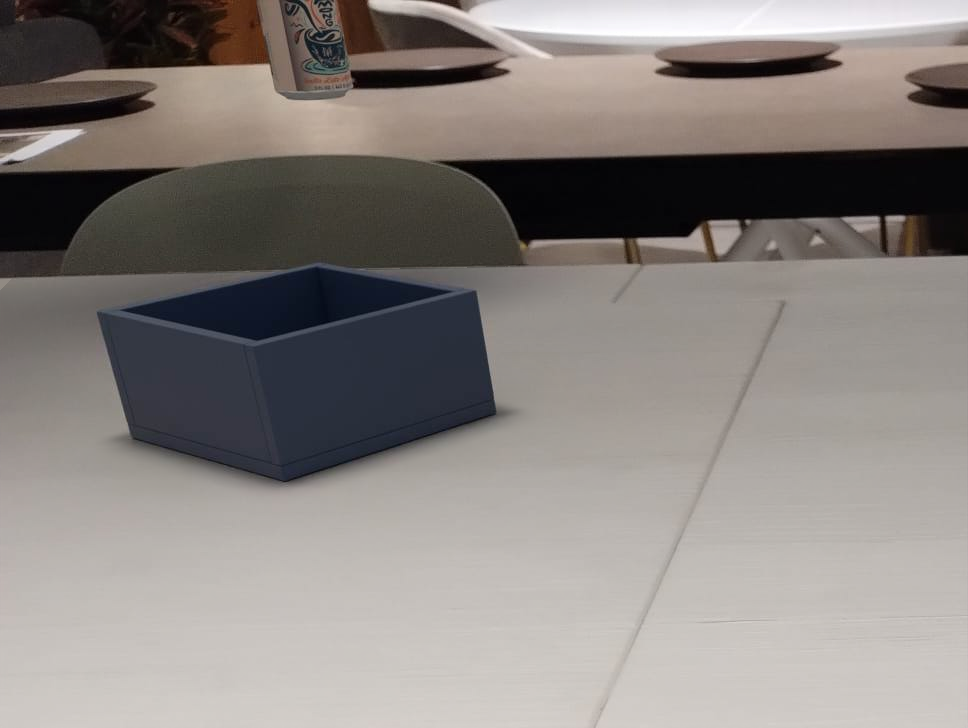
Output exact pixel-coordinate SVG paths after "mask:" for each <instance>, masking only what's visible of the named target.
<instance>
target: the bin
mask: <svg viewBox="0 0 968 728" xmlns="http://www.w3.org/2000/svg"><path fill="white" fill-rule="evenodd" d="M477 292H478V291H477V290H476V289H471V288H465V287H458V286H452V285H447V284H441V283H438V282H437V283H436V282H431V281H426V280H424V281H423V280H419V279H415V278H414V279H413V278H408V277H402V276H397V275H393V274H386V273H381V272H374V271H369V270H363V269H358V268H354V267H353V268H352V267H346V266H340V265H335V264H330V263H324V262H315V263H311V264H307V265H301V266H296V267H293V268H292V267H291V268H288V269H283V270H278V271H274V272H269V273H265V274H260V275H255V276H251V277H245V278H242V279H237V280H233V281H229V282H224V283H219V284H214V285H209V286H204V287H201V288H196V289H191V290H187V291H182V292H177V293H173V294H170V295H163V296H159V297H155V298H150V299H146V300H142V301H137V302H132V303H127V304H123V305H119V306H113V307H109V308H105V309H100V310H97V311H96V316H97V319H98V323H99V326H100V330H101V333H102V334H101V335H102V337H103V341H104V344H105V348H106V351H107V355H108V359H109V362H110V367H111V370H112V374H113V377H114V382H115V384H116V389H117V391H118V395H119V399H120V402H121V406H122V409H123V413H124V416H125V420H126V423H127V426H128V427H127V428H128V430H129V434H130V438H133V439H136V440H139V441H144V442H147V443H150V444H154V445H157V446H160V447H165V448H167V449H171V450H175V451H178V452H181V453H185V454H188V455H193V456H196V457H199V458H202V459H206V460H209V461H213V462H217V463H220V464H224V465H227V466H231V467H234V468H238V469H241V470H245V471H249V472H251V473H255V474H259V475H263V476H266V477H269V478H273V479H275V480H279V481H283V482H286V481H290V480H293V479H296V478H299V477H302V476H305V475H308V474H311V473H315V472H317V471H321V470H324V469H327V468H330V467H333V466H336V465H340V464H343V463H346V462H348V461H349V462H350V461H351V460H354V459H355V460H356V459H358V458H361V457H364V456H368V455H370V454H374V453H377V452H380V451H383V450H386V449H389V448H392V447H395V446H399V445H401V444H404V443H407V442H410V441H413V440H417V439H420V438H423V437H426V436H429V435H433V434H435V433H438V432H439V433H440V432H442V431H444V430H445V431H446V430H447V429H451V428H454V427H457V426H460V425H463V424H466V423H470V422H473V421H475V420H476V421H477V420H478V419H481V418H485V417H488V416H491V415H494V414H497V408H496V401H495V394H494V393H495V392H494V387H493V382H492V376H491V369H490V364H489V358H488V351H487V347H486V341H485V334H484V328H483V322H482V321H483V320H482V315H481V310H480V304H479V298H478V293H477Z"/></svg>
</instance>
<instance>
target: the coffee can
mask: <svg viewBox="0 0 968 728" xmlns="http://www.w3.org/2000/svg"><path fill="white" fill-rule="evenodd" d="M338 1H339V0H256V5H257V10H258V14H259V15H258V16H259V20H260V25H261V30H262V35H263V40H264V44H265V48H266V53H267V58H268V64H269V68H270V74H271V79H272V84H273V89H274V91H275V93H277V94H278V95H280V96H283V97H284V98H286V100H290V101H291V100H292V101H326V100H335V99H341V98H343V97H346V94H347V93H348V92H349V91H350V90H352V89H354V84H353V79H352V73H351V68H350V62H349V57H348V52H347V45H346V41H345V35H344V28H343V23H342V17H341V12H340V8H339V7H340V6H339V2H338Z"/></svg>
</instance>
